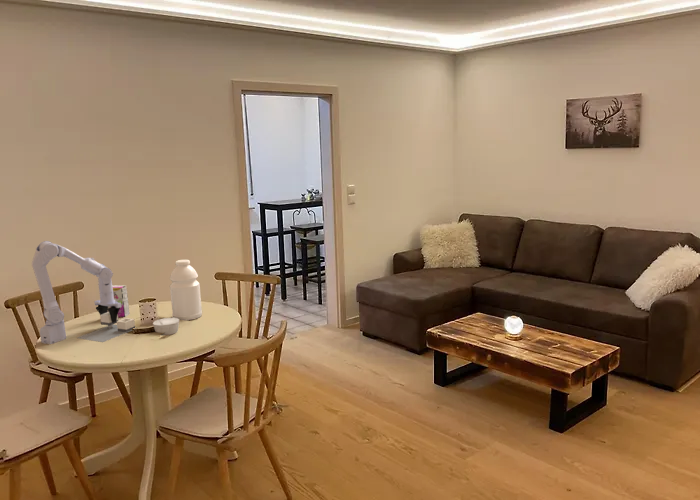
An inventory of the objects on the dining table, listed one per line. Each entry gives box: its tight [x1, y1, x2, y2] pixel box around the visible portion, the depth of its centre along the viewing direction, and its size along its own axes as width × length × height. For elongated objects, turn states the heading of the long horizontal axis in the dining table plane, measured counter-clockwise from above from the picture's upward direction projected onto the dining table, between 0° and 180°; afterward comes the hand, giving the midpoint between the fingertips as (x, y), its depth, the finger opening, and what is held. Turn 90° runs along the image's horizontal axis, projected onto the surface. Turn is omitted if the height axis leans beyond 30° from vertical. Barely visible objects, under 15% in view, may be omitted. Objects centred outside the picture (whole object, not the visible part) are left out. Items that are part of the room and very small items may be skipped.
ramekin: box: [152, 317, 180, 337], centre depth 256 cm, size 11×11×5 cm
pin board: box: [76, 323, 133, 343], centre depth 253 cm, size 20×16×4 cm
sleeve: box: [99, 312, 119, 326], centre depth 260 cm, size 5×5×4 cm
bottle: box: [169, 259, 203, 321], centre depth 276 cm, size 14×14×28 cm
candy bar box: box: [107, 284, 131, 318], centre depth 278 cm, size 11×5×16 cm, turn 84°
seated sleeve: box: [116, 317, 136, 333], centre depth 256 cm, size 5×5×4 cm
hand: (109, 321), depth 261 cm, fingers closed on sleeve, 5 cm apart
